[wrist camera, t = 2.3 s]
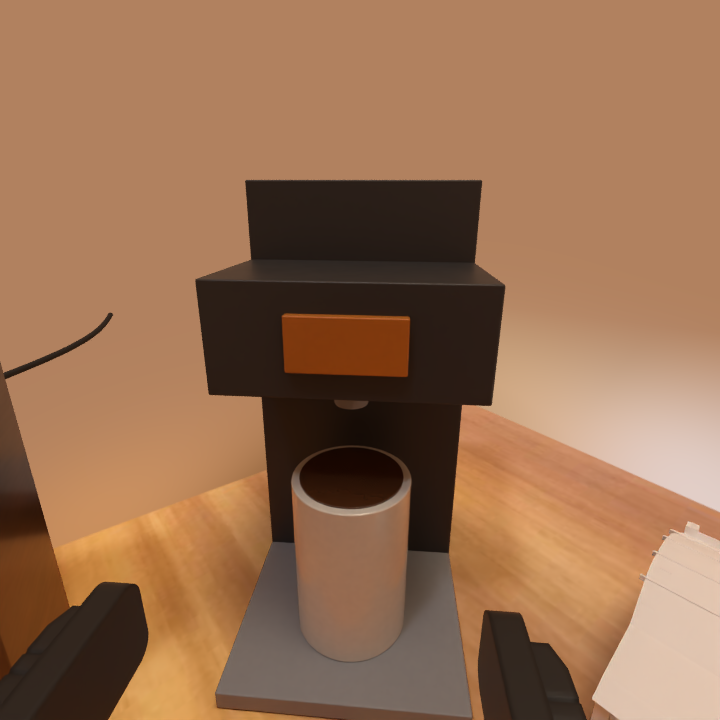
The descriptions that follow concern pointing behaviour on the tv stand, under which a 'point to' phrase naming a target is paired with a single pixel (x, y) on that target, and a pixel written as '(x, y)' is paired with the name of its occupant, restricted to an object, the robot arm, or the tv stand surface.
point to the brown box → (22, 548)
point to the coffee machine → (356, 413)
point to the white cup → (351, 549)
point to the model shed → (670, 638)
